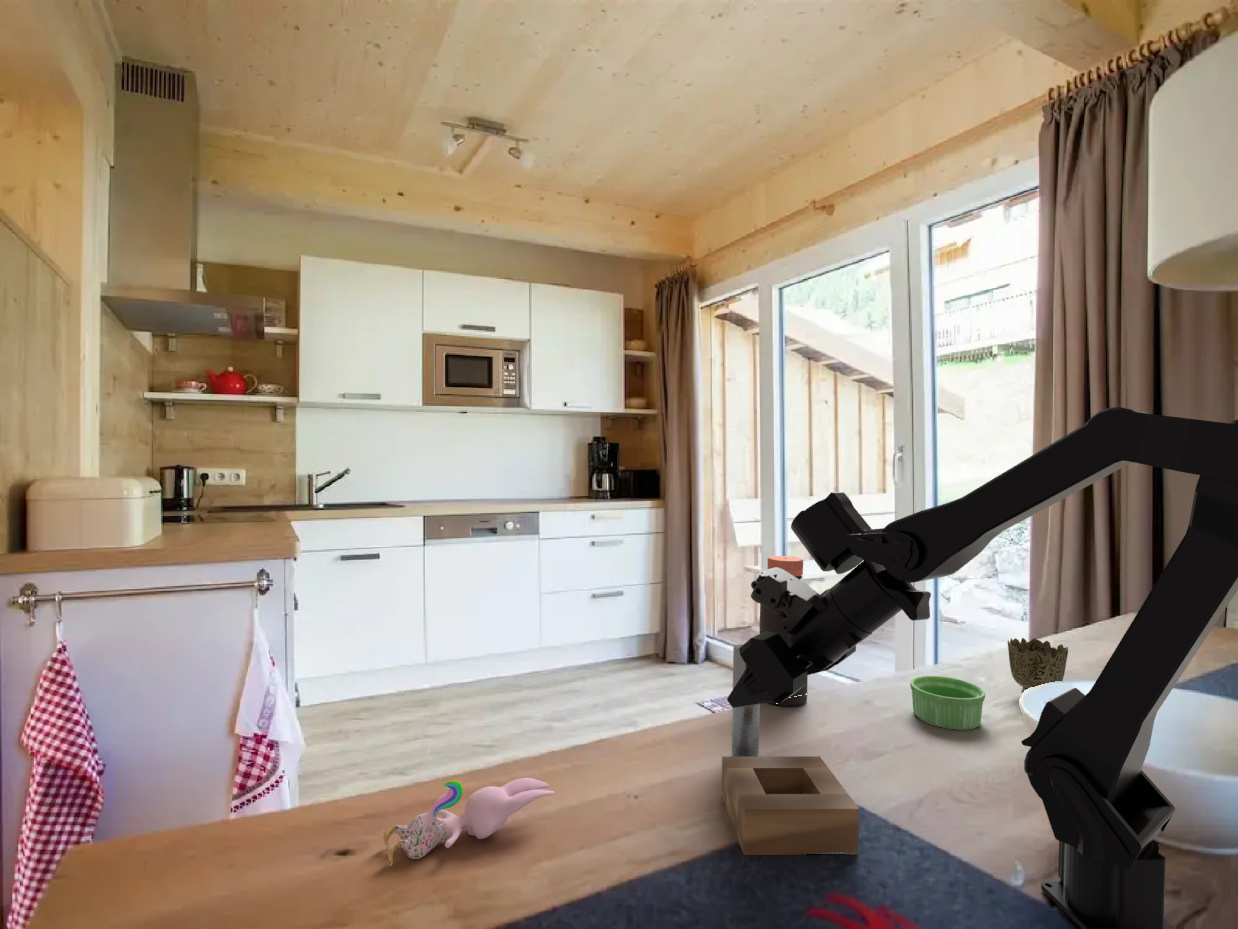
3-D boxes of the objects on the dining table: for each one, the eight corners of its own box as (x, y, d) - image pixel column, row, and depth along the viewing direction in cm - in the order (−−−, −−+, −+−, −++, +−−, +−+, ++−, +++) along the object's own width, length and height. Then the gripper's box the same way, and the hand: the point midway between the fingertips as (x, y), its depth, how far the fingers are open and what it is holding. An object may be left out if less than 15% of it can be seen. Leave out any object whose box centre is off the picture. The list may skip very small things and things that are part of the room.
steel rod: (761, 770, 73) (763, 652, 73) (734, 770, 73) (736, 652, 73) (754, 757, 76) (757, 644, 76) (728, 757, 76) (730, 644, 76)
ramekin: (894, 709, 92) (895, 677, 92) (949, 704, 94) (950, 673, 94) (942, 736, 83) (943, 701, 83) (1001, 729, 86) (1002, 695, 86)
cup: (994, 693, 99) (995, 639, 98) (1030, 687, 101) (1031, 635, 101) (1042, 711, 92) (1043, 653, 91) (1079, 705, 94) (1080, 649, 94)
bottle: (817, 702, 94) (820, 560, 93) (780, 710, 90) (783, 563, 90) (784, 687, 100) (787, 553, 99) (748, 694, 96) (751, 556, 96)
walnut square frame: (858, 854, 58) (859, 808, 58) (743, 855, 57) (744, 809, 57) (819, 795, 68) (819, 756, 68) (721, 795, 67) (722, 756, 67)
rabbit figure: (395, 895, 54) (566, 822, 60) (383, 826, 53) (557, 759, 60) (384, 854, 59) (542, 790, 66) (373, 790, 59) (533, 733, 65)
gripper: (831, 538, 78) (744, 616, 85) (760, 556, 63) (661, 649, 70) (900, 617, 73) (801, 692, 80) (840, 656, 59) (726, 744, 66)
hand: (750, 691), depth 74 cm, fingers open, 9 cm apart
